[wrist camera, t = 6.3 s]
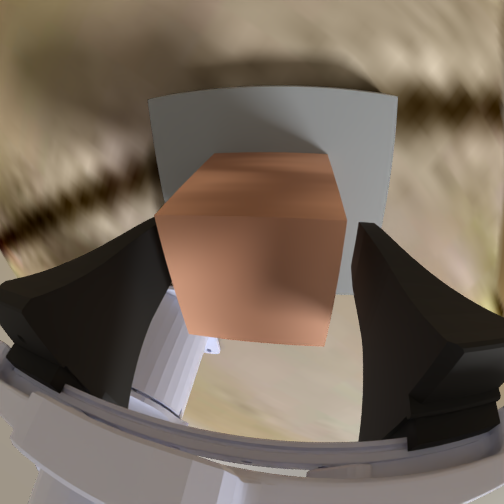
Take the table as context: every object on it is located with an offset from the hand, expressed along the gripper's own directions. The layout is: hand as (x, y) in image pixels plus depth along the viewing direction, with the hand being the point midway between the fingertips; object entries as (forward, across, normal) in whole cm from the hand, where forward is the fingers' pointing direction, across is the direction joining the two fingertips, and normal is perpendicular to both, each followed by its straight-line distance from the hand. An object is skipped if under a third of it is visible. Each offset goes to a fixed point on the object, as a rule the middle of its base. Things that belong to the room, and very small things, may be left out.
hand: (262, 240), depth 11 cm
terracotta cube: (+3, 0, 0) cm, 3 cm away
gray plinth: (+6, 0, 0) cm, 6 cm away
